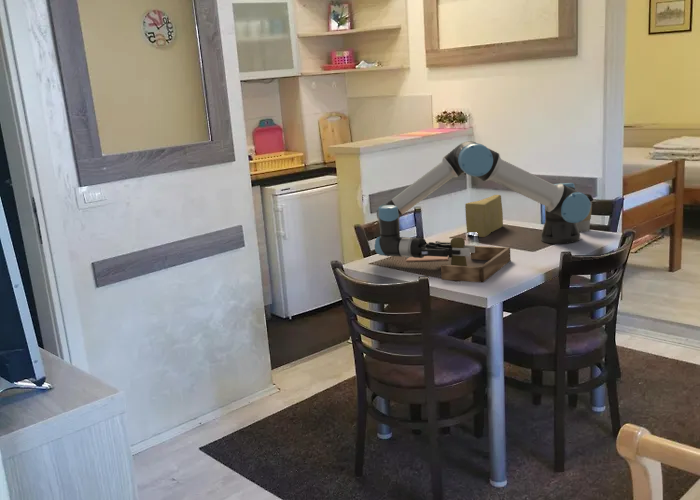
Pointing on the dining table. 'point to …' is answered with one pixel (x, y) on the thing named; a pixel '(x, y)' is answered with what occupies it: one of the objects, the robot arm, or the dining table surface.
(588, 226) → the coffee cup
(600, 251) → the dining table surface
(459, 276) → the walnut bay
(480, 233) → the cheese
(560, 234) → the robot arm
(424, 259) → the terracotta tile
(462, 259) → the olive pepper mill
